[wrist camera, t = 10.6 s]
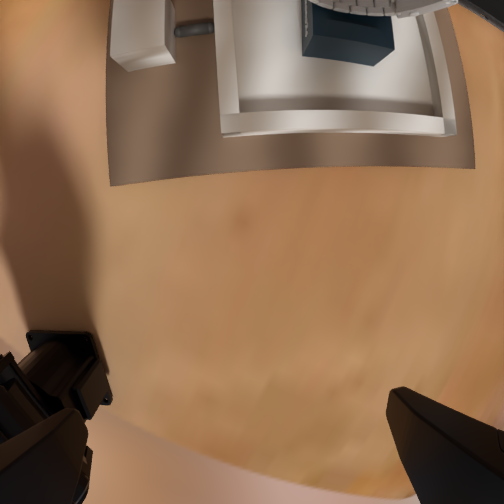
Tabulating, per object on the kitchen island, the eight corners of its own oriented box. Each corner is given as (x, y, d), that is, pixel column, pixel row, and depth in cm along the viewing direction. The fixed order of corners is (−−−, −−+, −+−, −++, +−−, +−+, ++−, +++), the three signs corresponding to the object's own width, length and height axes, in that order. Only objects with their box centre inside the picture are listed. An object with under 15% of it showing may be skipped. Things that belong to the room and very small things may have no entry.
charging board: (116, 185, 19) (88, 188, 15) (120, -39, 15) (103, -66, 11) (467, 168, 19) (502, 169, 15) (424, -35, 15) (446, -57, 11)
